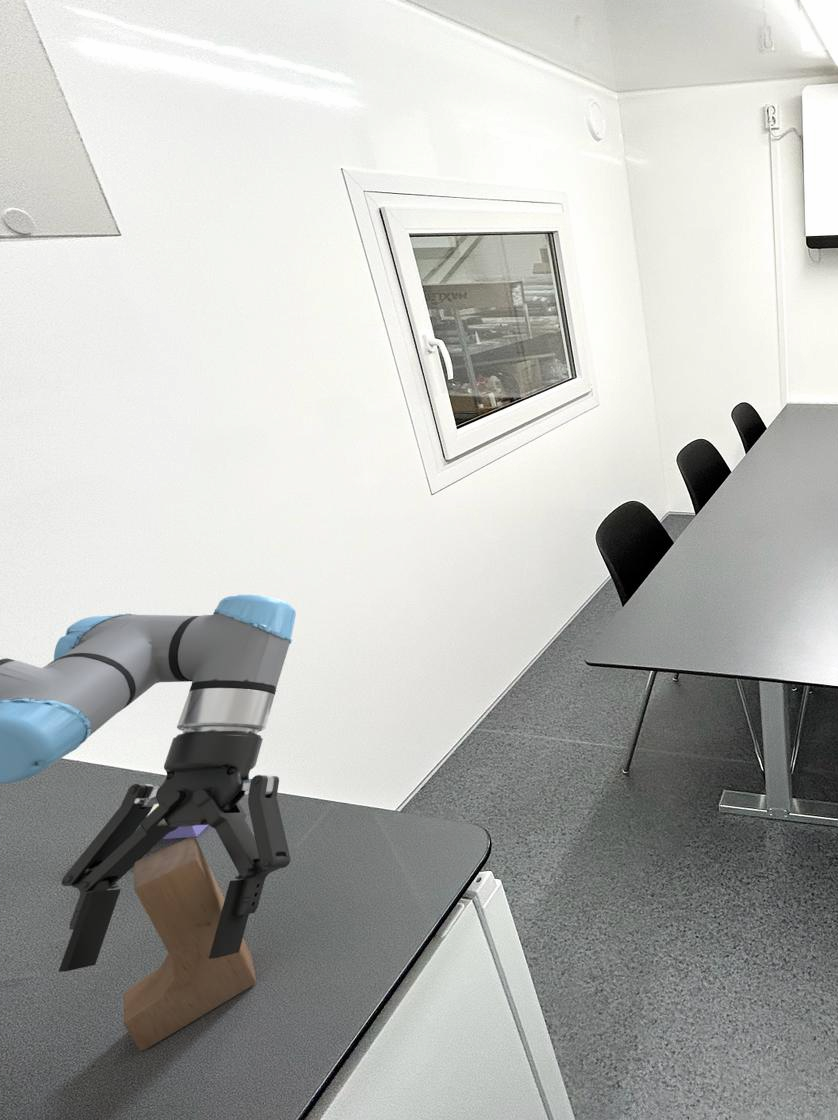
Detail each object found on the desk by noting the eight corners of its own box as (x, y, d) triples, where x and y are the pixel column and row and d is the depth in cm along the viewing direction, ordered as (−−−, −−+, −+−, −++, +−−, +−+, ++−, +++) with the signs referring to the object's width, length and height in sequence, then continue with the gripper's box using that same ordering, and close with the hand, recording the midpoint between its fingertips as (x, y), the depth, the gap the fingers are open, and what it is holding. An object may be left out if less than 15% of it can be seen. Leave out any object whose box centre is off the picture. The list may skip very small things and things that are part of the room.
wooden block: (140, 1054, 61) (60, 923, 55) (139, 1020, 64) (63, 891, 58) (257, 984, 67) (197, 858, 61) (252, 955, 70) (194, 833, 64)
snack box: (120, 842, 85) (108, 820, 84) (147, 819, 89) (136, 797, 88) (196, 837, 86) (185, 814, 84) (220, 814, 90) (210, 791, 88)
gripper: (357, 729, 73) (310, 942, 64) (135, 744, 72) (56, 965, 63) (313, 721, 67) (254, 958, 58) (67, 738, 65) (-32, 983, 56)
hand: (150, 962), depth 60 cm, fingers open, 13 cm apart
